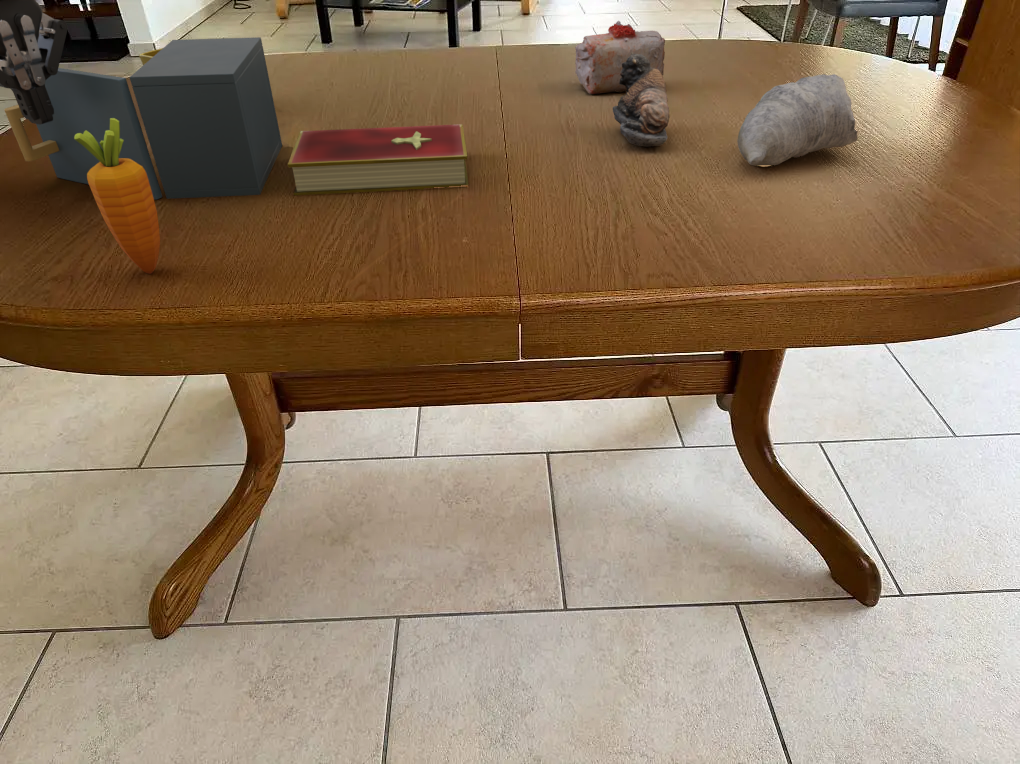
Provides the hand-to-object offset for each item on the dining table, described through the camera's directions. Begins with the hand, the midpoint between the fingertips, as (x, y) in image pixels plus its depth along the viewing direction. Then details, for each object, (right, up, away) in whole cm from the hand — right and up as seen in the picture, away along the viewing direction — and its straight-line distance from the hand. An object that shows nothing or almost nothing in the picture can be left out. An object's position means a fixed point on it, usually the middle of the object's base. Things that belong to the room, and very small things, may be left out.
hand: (41, 121), depth 82 cm
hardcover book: (+36, -2, +13) cm, 38 cm away
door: (+1, -6, +8) cm, 10 cm away
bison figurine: (+70, +5, +22) cm, 73 cm away
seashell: (+89, 0, +15) cm, 90 cm away
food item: (+70, +20, +41) cm, 83 cm away
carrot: (+16, -18, -8) cm, 25 cm away
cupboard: (+16, -2, +14) cm, 21 cm away
